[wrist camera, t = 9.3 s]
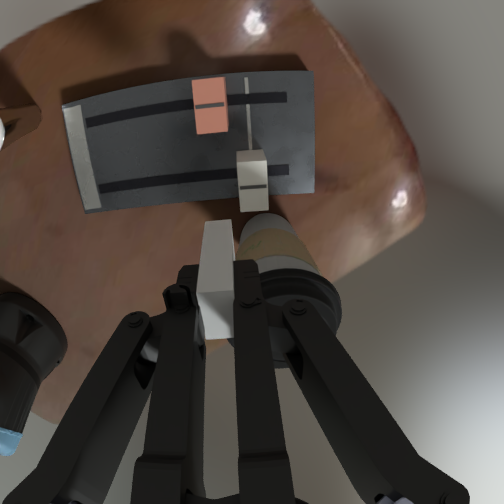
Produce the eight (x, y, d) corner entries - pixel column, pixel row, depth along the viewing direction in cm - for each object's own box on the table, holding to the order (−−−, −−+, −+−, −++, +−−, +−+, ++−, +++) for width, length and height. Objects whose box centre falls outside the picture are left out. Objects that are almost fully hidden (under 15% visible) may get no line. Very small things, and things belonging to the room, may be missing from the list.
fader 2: (239, 195, 31) (240, 212, 27) (236, 151, 28) (236, 162, 25) (264, 193, 31) (268, 210, 27) (262, 149, 28) (266, 160, 25)
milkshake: (16, 93, 24) (-43, 109, 16) (50, 102, 26) (-7, 120, 17) (9, 130, 27) (-47, 156, 18) (41, 140, 28) (-13, 170, 19)
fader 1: (202, 126, 27) (196, 134, 24) (197, 79, 25) (191, 80, 21) (228, 124, 27) (227, 131, 24) (225, 76, 25) (223, 76, 21)
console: (92, 206, 33) (84, 214, 31) (70, 102, 26) (61, 105, 24) (309, 185, 33) (314, 193, 31) (308, 71, 26) (313, 70, 25)
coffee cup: (226, 195, 33) (222, 283, 20) (315, 200, 34) (362, 286, 21) (223, 270, 38) (220, 374, 25) (302, 273, 39) (331, 372, 26)
